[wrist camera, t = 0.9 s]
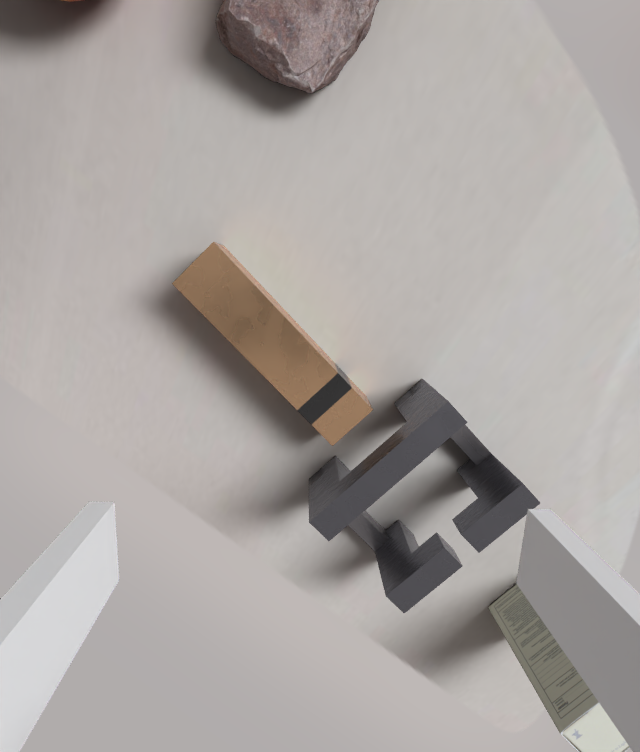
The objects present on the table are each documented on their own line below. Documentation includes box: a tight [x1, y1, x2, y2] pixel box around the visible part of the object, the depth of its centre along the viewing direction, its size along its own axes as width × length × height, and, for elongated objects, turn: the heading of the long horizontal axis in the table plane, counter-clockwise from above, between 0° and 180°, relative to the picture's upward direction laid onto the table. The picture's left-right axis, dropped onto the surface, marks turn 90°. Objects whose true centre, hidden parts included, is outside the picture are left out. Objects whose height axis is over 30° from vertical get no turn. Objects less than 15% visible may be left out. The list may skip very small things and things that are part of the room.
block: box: [172, 242, 373, 446], centre depth 34 cm, size 16×4×4 cm, turn 43°
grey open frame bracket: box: [309, 379, 540, 613], centre depth 35 cm, size 10×12×7 cm
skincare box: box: [489, 584, 630, 752], centre depth 35 cm, size 6×4×12 cm
